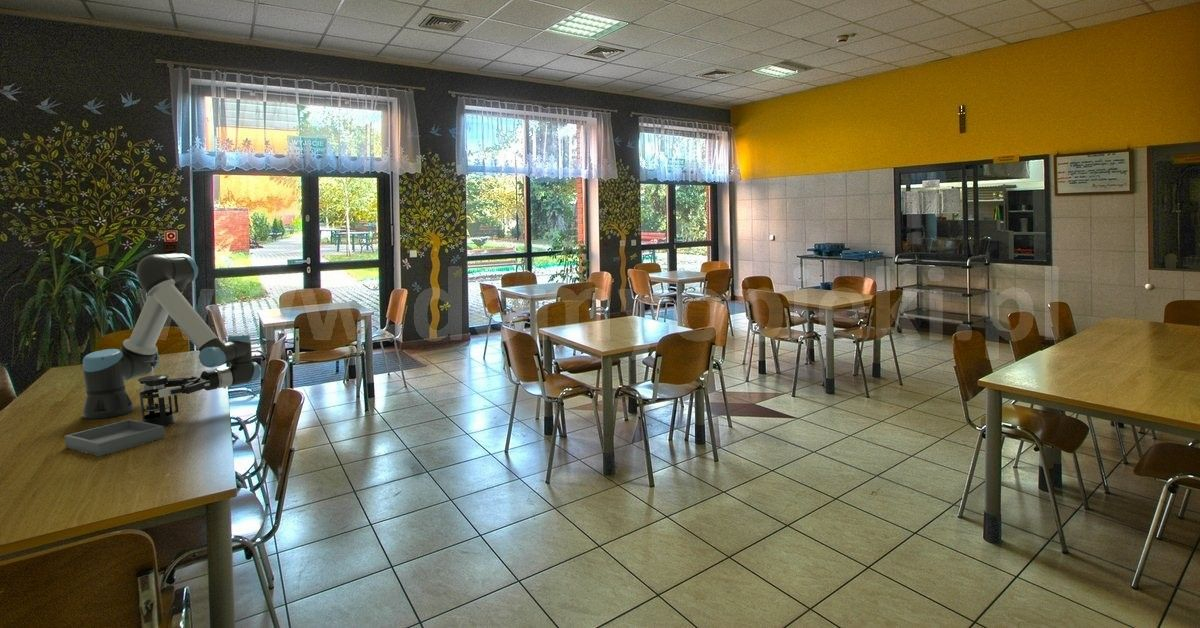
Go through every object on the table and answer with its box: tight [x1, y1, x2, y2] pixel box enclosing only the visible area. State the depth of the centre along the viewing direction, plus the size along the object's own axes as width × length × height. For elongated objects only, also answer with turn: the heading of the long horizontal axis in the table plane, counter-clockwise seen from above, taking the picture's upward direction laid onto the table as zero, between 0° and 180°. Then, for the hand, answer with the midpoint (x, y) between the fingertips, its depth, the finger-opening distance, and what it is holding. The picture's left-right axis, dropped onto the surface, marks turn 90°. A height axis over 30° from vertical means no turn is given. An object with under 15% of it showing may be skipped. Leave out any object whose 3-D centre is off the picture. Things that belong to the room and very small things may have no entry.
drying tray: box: [64, 418, 166, 457], centre depth 205 cm, size 19×19×4 cm
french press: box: [137, 360, 179, 427], centre depth 223 cm, size 12×9×23 cm
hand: (150, 391), depth 221 cm, fingers open, 13 cm apart
